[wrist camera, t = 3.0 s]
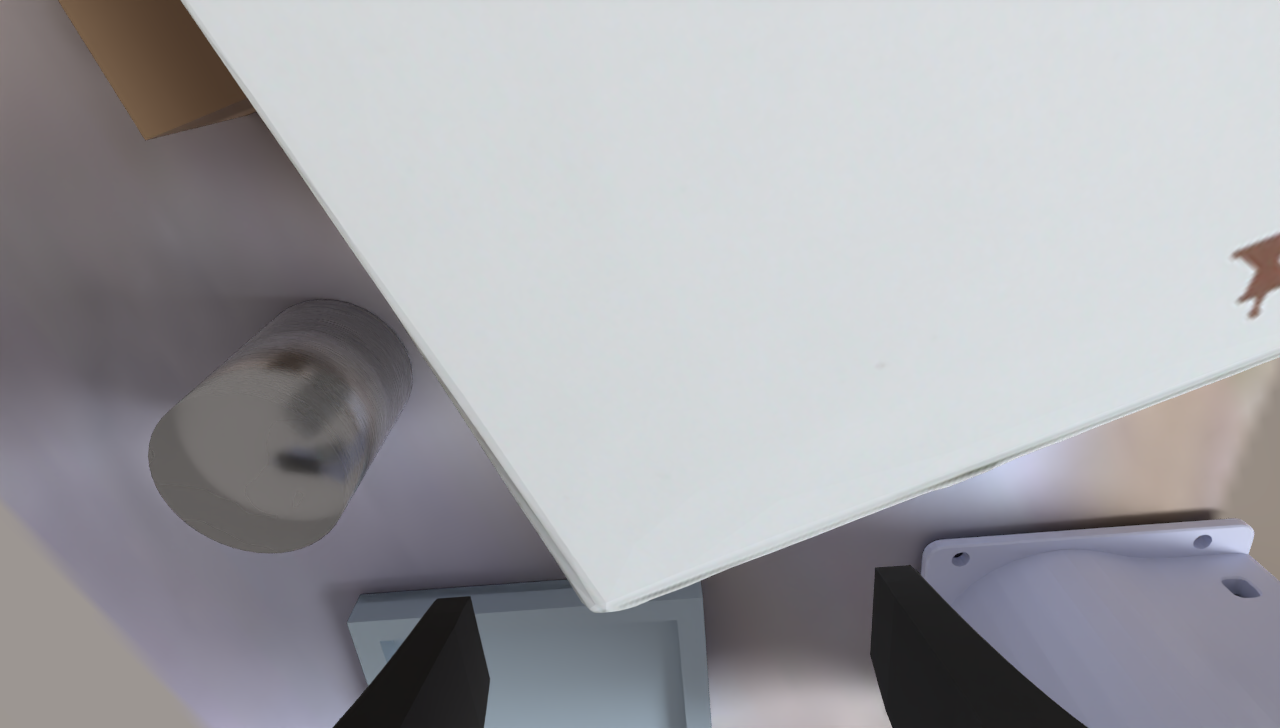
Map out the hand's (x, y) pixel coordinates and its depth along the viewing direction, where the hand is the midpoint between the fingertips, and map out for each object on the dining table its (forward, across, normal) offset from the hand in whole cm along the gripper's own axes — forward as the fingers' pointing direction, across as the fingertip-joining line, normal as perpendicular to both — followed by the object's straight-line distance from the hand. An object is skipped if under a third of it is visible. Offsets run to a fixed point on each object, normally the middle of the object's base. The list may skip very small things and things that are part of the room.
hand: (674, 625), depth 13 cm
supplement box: (+8, -1, -9) cm, 12 cm away
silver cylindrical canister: (+8, +9, -2) cm, 12 cm away
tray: (+8, +5, +11) cm, 14 cm away
